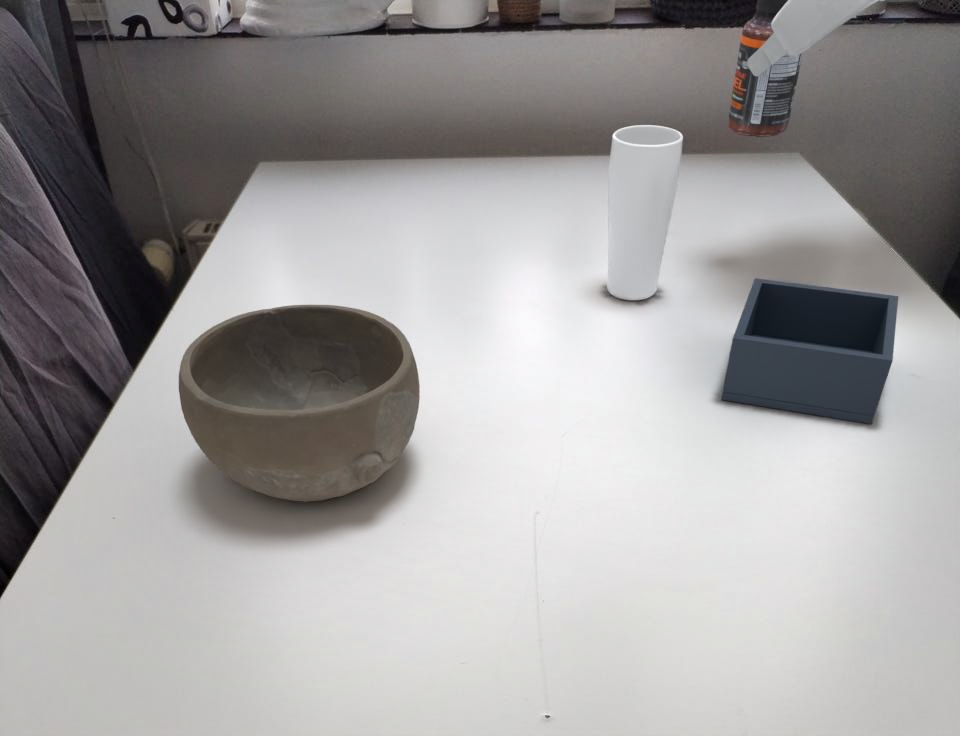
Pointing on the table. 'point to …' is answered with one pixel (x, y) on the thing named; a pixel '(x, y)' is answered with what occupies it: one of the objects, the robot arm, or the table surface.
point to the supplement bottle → (762, 80)
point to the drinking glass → (640, 206)
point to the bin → (812, 350)
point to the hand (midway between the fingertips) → (762, 60)
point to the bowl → (301, 399)
